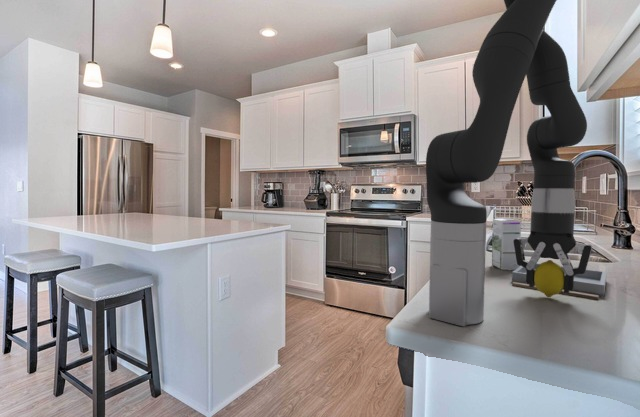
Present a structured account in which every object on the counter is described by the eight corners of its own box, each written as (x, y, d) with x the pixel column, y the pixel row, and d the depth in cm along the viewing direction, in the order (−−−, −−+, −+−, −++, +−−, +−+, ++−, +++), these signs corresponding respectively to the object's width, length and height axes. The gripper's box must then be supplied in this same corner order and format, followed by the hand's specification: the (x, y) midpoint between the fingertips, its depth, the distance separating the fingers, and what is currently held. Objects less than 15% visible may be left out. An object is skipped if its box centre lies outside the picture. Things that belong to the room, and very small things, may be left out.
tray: (603, 296, 73) (604, 285, 73) (512, 281, 85) (512, 272, 84) (606, 281, 85) (606, 271, 85) (525, 270, 97) (526, 261, 97)
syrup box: (521, 270, 97) (522, 219, 96) (500, 270, 97) (501, 219, 97) (510, 265, 103) (511, 218, 102) (490, 265, 103) (492, 218, 102)
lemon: (569, 302, 69) (571, 263, 68) (539, 300, 70) (541, 262, 70) (556, 294, 74) (558, 258, 74) (528, 292, 75) (530, 257, 75)
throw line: (598, 299, 71) (598, 297, 71) (512, 285, 81) (512, 283, 81) (598, 298, 72) (598, 295, 72) (513, 284, 83) (513, 281, 83)
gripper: (509, 209, 73) (506, 286, 74) (595, 212, 64) (590, 301, 64) (517, 208, 79) (515, 280, 80) (597, 211, 69) (593, 292, 70)
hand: (549, 289), depth 72 cm, fingers closed on lemon, 5 cm apart
